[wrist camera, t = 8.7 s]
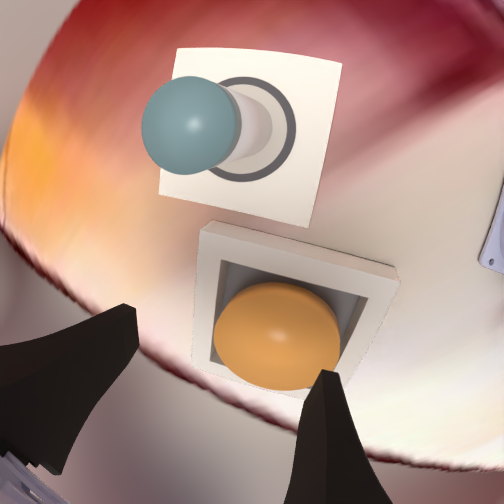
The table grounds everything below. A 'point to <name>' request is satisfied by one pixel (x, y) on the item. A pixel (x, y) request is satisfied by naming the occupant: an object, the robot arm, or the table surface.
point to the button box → (292, 272)
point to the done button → (278, 336)
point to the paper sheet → (282, 138)
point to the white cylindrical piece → (202, 125)
